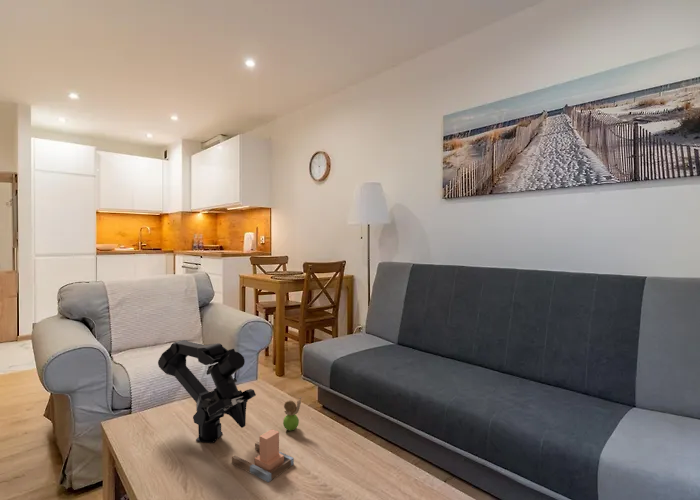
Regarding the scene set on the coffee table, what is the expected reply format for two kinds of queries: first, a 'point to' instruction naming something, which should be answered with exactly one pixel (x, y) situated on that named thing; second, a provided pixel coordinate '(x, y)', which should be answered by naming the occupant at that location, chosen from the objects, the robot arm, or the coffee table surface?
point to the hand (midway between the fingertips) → (243, 427)
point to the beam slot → (259, 471)
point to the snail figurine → (291, 414)
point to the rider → (269, 451)
